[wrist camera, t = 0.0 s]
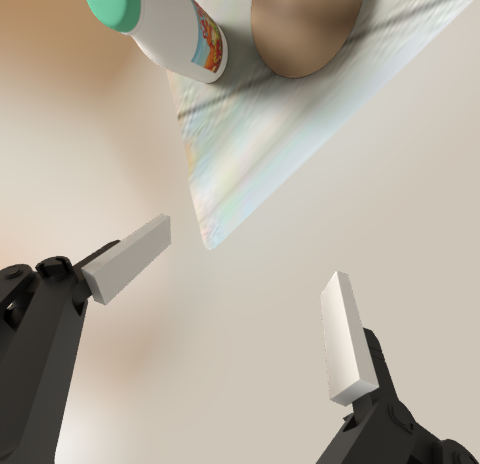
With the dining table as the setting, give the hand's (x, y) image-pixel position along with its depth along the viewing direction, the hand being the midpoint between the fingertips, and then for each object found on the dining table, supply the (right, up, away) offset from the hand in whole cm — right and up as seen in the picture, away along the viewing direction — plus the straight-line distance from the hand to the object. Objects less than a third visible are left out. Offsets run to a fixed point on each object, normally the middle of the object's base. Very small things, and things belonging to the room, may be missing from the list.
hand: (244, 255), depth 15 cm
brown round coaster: (+8, +32, +12) cm, 35 cm away
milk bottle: (-6, +32, +17) cm, 36 cm away
